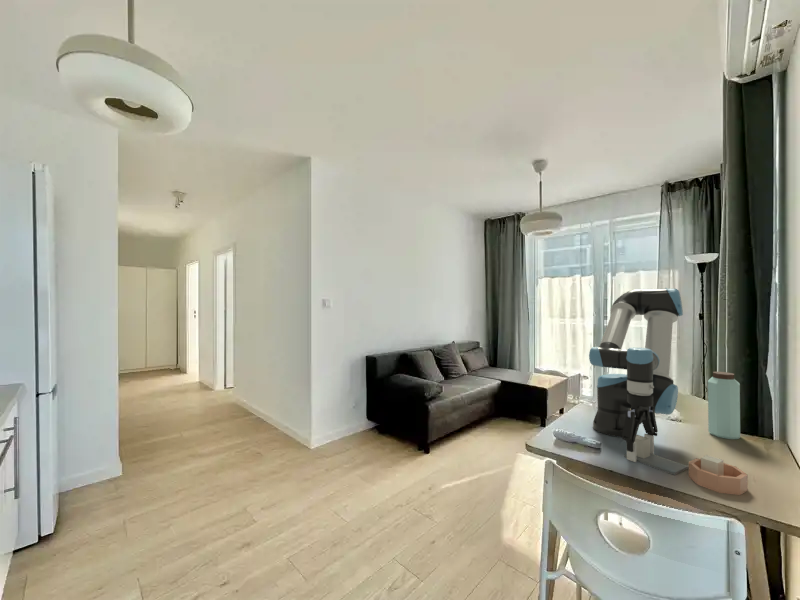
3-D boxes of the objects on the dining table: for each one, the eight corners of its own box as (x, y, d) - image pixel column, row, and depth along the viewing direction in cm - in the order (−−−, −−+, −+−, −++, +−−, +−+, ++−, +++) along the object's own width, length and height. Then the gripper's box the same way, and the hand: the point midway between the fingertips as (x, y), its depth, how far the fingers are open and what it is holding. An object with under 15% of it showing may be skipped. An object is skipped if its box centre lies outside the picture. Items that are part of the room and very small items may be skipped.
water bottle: (733, 442, 134) (732, 376, 134) (702, 433, 143) (701, 372, 143) (747, 438, 138) (746, 374, 138) (715, 429, 147) (715, 369, 147)
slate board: (624, 456, 122) (624, 454, 122) (638, 451, 127) (638, 449, 127) (674, 475, 109) (674, 472, 109) (688, 468, 114) (688, 466, 114)
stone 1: (631, 454, 123) (631, 436, 123) (637, 451, 125) (637, 434, 125) (643, 458, 119) (643, 440, 119) (650, 455, 121) (649, 438, 121)
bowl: (683, 479, 107) (683, 464, 107) (701, 469, 113) (701, 455, 113) (735, 498, 96) (735, 482, 96) (752, 487, 102) (752, 471, 102)
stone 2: (701, 477, 106) (700, 457, 106) (706, 474, 108) (706, 454, 108) (718, 483, 103) (717, 463, 103) (723, 480, 105) (723, 459, 105)
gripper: (633, 400, 113) (633, 469, 113) (669, 391, 124) (669, 453, 124) (609, 394, 120) (610, 460, 120) (646, 386, 131) (646, 446, 131)
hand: (640, 456), depth 122 cm, fingers open, 10 cm apart
